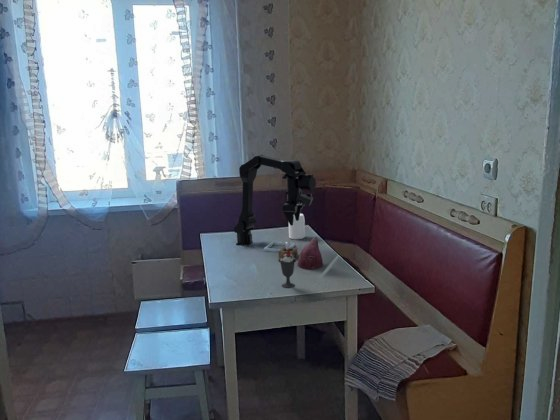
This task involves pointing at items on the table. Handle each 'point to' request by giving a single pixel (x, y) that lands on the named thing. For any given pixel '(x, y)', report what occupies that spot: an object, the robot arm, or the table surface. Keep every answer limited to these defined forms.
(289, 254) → the sundae
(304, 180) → the robot arm
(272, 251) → the tray
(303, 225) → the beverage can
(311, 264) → the vegetable
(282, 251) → the ring
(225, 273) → the table surface
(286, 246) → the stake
